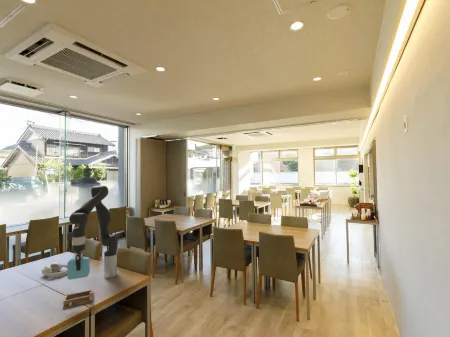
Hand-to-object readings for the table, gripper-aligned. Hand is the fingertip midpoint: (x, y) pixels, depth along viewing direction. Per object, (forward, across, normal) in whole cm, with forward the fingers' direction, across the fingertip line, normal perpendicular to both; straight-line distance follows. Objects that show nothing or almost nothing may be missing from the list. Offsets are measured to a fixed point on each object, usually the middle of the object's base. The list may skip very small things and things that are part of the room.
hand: (78, 268), depth 157 cm
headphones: (+21, +57, +22) cm, 65 cm away
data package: (+6, 0, 0) cm, 6 cm away
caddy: (+21, 0, 0) cm, 21 cm away
